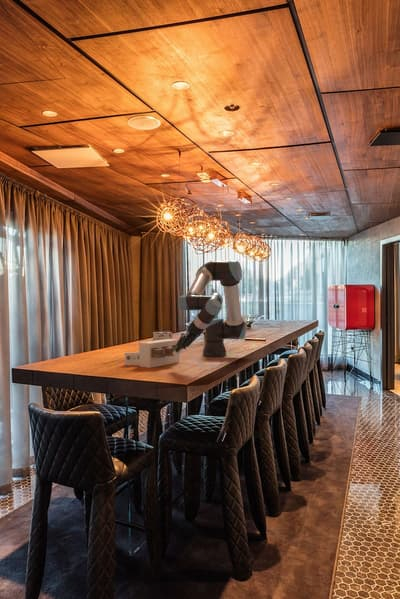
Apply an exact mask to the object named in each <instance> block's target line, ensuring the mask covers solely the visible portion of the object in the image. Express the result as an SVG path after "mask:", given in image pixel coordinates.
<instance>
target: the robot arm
mask: <svg viewBox="0 0 400 599" xmlns="http://www.w3.org/2000/svg"><path fill="white" fill-rule="evenodd" d="M242 272H243V271H242V266H241V263H240V262H239V261H238V260H232V259H229V260H210V261H209V262H206V263H204V264H203V265H202V266H200V267H199V268H198V270H197V271H196V273H195V278H194V280H193V282H192V284H191V285H190V288H189V290H188V291H187V293H186V294H184V295H181V296H179V298H178V308H179V310H181V311H199V312H198V313H197V315H196V316H195V317H194V318H193V320H192V321H191V322H190V323H189V324H188V328H189V329H188V330H186V332H185V333H184V332H182V333H181V334H180V337H179V339H178V340H179V341H178V342H177V344H176V345H177V348H176V349H175V351H174V352H173V353H172V354H173V355H174V357H177V356H178V355H179V356H180V354H181V353H182V351H183V350H187V348H189V347H190V345H191V344H193V342H195V341H196V340H197V338H199V337H201V335H202V334H203V332H205V333H204V336H205V337H204V338H205V339H204V343H205V344H204V346H203V350H202V356H203V357H208V358H209V357H210V358H212V357H214V358H216V357H217V358H218V357H225V356H227V349H226V346H225V344H224V340H238V341H239V340H244V339H245V338H246V336H247V330H248V321H247V320H245V318H244V316H243V315H242V312H241V303H240V295H239V294H240V293H239V284H240V282H241V281H242V280H243V273H242ZM213 281H215V282H219V283H220V285H221V287H222V288H223V293H224V297H223V296H222V295H221V294H220V293H219V292H213V293H210V295H203V294H204V292H205V290H206V288H207V285H208V284H209V283H211V282H213ZM223 298H224V299H223ZM223 300H224V301H225V312H226V318H225V320H224V318H223V317H221V318H215V317H216V316H217V315H218V314H219V313H220V312H221V311H222V308H223V306H222V304H223V302H224V301H223Z"/></svg>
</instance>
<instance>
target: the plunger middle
mask: <svg viewBox="0 0 400 599" xmlns="http://www.w3.org/2000/svg"><path fill="white" fill-rule="evenodd" d="M162 349H165V356H169V357H170V356H174V355H173V354H172V353H173V352H174V351H175V348H173V347H162Z"/></svg>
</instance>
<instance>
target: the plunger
mask: <svg viewBox="0 0 400 599" xmlns="http://www.w3.org/2000/svg"><path fill="white" fill-rule="evenodd" d="M151 357H153V358H164V357H165V349H158V348H152V349H151Z"/></svg>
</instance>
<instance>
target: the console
mask: <svg viewBox="0 0 400 599" xmlns="http://www.w3.org/2000/svg"><path fill="white" fill-rule="evenodd" d="M178 341H179V339H176V338H174V339H173V338H172V339H164V340H156V341H153V340H150V341H149V340H148V341H142V342H138V343H139V344H138V352H139V365H138V366H139V367H142V368H149V369H150V368H155V367H161V366H167V365H172V364H178V363H180V354H179V355H178V356H177V357H174V356H170V357H169V356H165V357H164V358H153V357H151V349H152V348H158V349H162V347H172V346H173V345H176V344H177V342H178ZM176 346H177V345H176Z"/></svg>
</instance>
